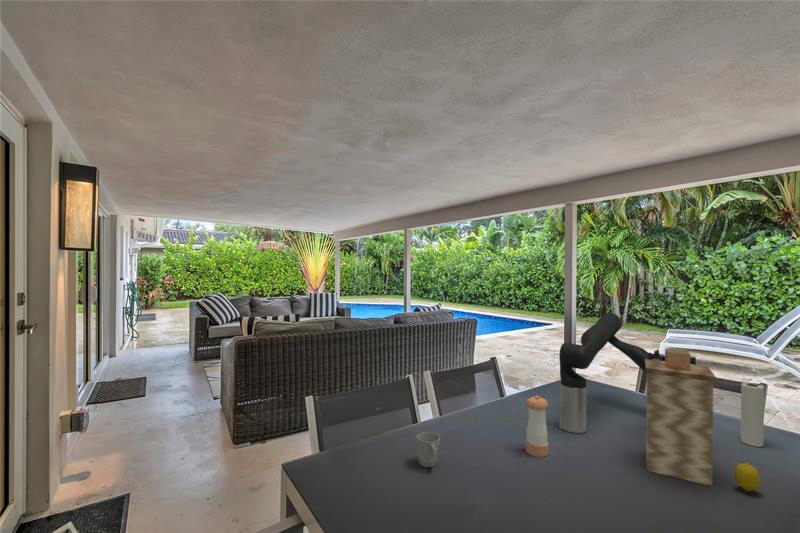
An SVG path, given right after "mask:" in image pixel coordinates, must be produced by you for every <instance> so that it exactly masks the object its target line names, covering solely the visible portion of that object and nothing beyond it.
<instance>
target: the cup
mask: <svg viewBox="0 0 800 533" xmlns="http://www.w3.org/2000/svg"><path fill="white" fill-rule="evenodd" d="M415 437H416V446H417V455H418V456H417V457H418V463H419V465H420V466H421V467H423V468H428V467H430V468H434V467H436V466H437V464H438V457H439V452H440V444H441V443H440V442H441V436H440V435H439V434H438V433H435V432H432V431H423V432H420V433H418V434H417V435H416V436H415Z"/></svg>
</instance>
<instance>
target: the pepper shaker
mask: <svg viewBox="0 0 800 533" xmlns="http://www.w3.org/2000/svg"><path fill="white" fill-rule="evenodd" d="M526 406H527V408H528V421H527V426H526V439H525V452H526V454H528V455H529V456H532V457H537V458H543V457H547V456H548V455H549V442H548V428H547V422H546V421H547V414H546V412H547V410H548V407H549V403H548V401H547V399H545V398H542V397H540V396H539V395H535V396H532V397H528V399H527V400H526Z"/></svg>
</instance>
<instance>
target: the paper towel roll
mask: <svg viewBox="0 0 800 533" xmlns="http://www.w3.org/2000/svg"><path fill="white" fill-rule="evenodd" d="M740 390H741V391H740V395H741V396H740V409H741V410H740V440H741V442H742V443H744V444H746V445H748V446H752V447H757V448H759V447H763V446H764V443H765V442H764V436H765V435H764V434H765V433H764V432H765V428H764V427H765V423H764V421H765V420H764V419H765V386H764V385H763V384H761V385H759V384H755V383H750V382H749V383H748V382H745V383H743V382H742V383H741V388H740Z"/></svg>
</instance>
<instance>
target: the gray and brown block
mask: <svg viewBox="0 0 800 533" xmlns="http://www.w3.org/2000/svg"><path fill="white" fill-rule="evenodd" d="M664 350H665V351H664V355H665V365H666V368H673V369H681V370H690V355H691V353H690V351H688V350H683V349H682V350H681V349H673V348H664Z"/></svg>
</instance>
